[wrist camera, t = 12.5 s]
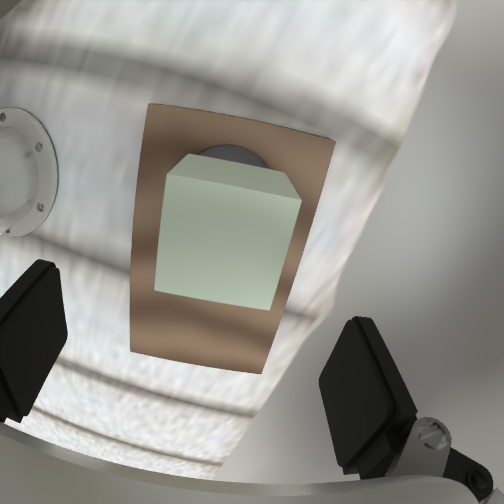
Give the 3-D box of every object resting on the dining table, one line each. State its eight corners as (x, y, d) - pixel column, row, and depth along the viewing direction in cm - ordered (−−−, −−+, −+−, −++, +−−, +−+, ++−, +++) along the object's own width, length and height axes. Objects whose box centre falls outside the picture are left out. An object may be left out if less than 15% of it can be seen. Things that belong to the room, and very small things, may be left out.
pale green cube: (262, 258, 22) (269, 310, 17) (175, 242, 21) (154, 290, 16) (284, 172, 20) (301, 200, 14) (188, 153, 19) (166, 174, 13)
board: (260, 364, 34) (265, 445, 25) (133, 342, 32) (106, 418, 23) (330, 139, 24) (384, 166, 14) (153, 103, 22) (96, 107, 13)
